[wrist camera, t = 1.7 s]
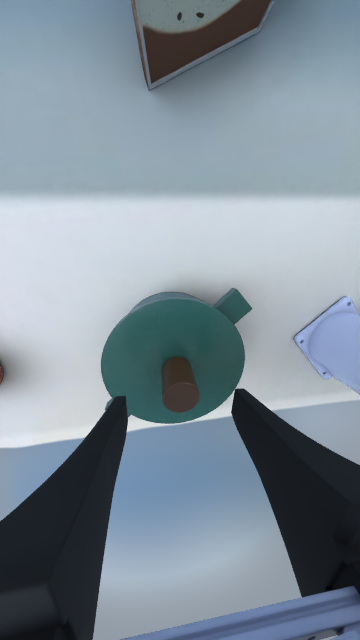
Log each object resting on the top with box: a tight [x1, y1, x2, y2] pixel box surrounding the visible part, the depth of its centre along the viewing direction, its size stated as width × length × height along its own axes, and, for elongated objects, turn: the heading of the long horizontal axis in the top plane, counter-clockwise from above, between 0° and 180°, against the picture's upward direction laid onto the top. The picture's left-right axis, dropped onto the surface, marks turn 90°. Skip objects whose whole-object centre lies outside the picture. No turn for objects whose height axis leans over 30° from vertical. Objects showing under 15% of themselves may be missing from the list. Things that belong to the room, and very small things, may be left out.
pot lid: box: [101, 298, 245, 424], centre depth 14 cm, size 12×12×4 cm
